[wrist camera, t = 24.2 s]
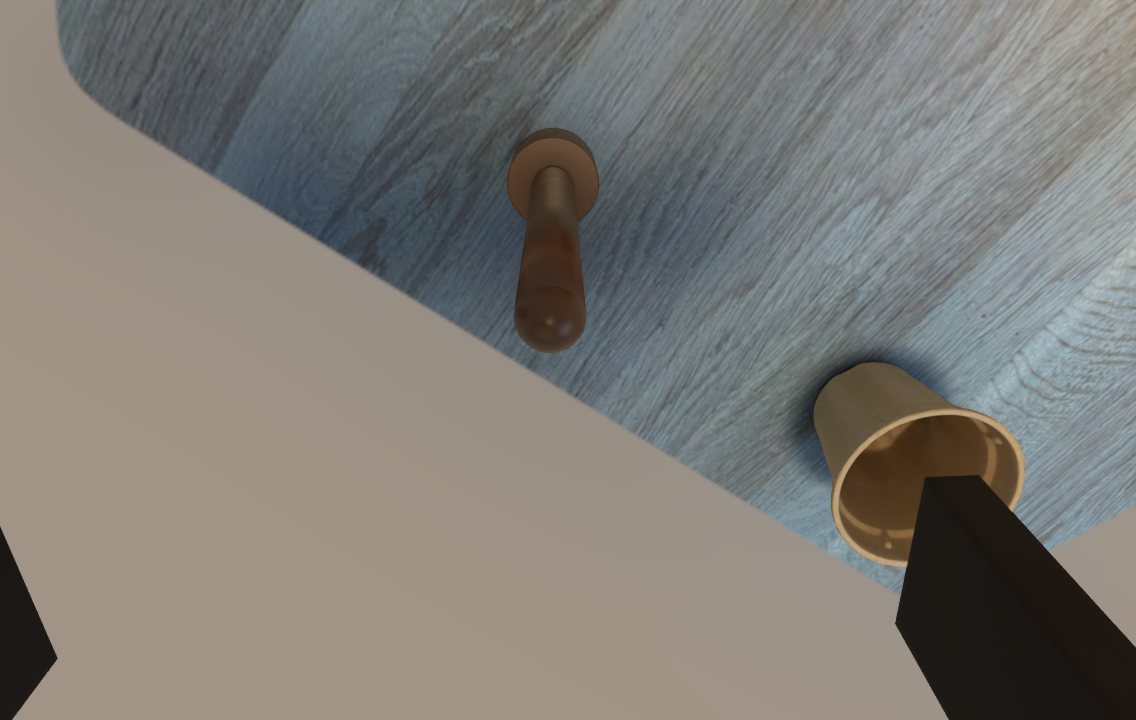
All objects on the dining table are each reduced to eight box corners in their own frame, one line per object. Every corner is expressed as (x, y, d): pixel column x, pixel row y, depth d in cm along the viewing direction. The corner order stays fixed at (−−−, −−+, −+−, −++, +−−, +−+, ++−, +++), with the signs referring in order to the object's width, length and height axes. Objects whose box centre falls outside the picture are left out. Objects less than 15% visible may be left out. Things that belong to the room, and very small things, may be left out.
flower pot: (941, 462, 47) (1018, 554, 39) (788, 484, 47) (834, 579, 40) (947, 323, 43) (1035, 395, 35) (781, 350, 44) (830, 426, 36)
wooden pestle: (520, 221, 40) (487, 416, 21) (502, 137, 38) (447, 267, 19) (602, 205, 40) (644, 389, 21) (587, 120, 38) (618, 236, 19)
